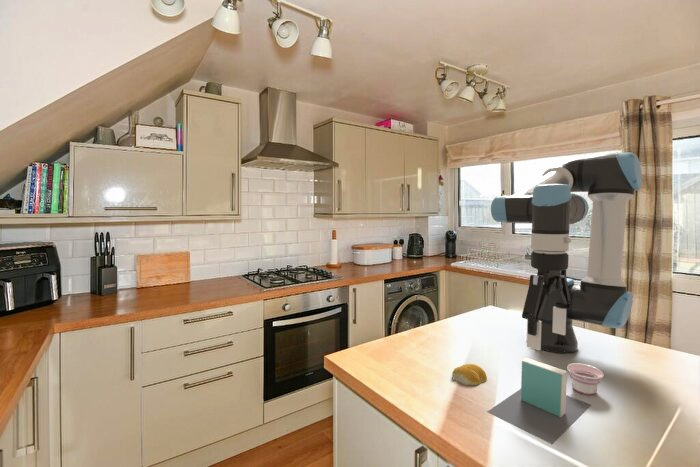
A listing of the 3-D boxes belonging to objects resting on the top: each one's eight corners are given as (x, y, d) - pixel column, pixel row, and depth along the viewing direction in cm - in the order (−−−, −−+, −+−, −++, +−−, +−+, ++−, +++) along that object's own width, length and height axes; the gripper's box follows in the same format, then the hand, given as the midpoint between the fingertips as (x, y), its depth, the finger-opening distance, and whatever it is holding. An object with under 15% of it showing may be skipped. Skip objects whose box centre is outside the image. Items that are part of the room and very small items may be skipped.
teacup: (616, 411, 80) (617, 386, 80) (556, 398, 86) (557, 374, 85) (608, 388, 90) (609, 365, 90) (555, 377, 96) (556, 356, 96)
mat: (487, 414, 79) (487, 411, 79) (531, 383, 93) (531, 381, 93) (552, 446, 68) (552, 444, 68) (591, 407, 82) (591, 404, 82)
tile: (520, 400, 84) (521, 360, 83) (525, 396, 85) (526, 357, 85) (560, 417, 77) (562, 374, 76) (565, 413, 78) (567, 371, 78)
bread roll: (491, 381, 95) (492, 367, 95) (471, 390, 90) (471, 376, 90) (466, 369, 102) (467, 356, 101) (446, 378, 97) (446, 364, 96)
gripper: (542, 259, 69) (539, 361, 70) (587, 248, 84) (584, 332, 85) (506, 255, 74) (504, 349, 76) (554, 245, 90) (552, 324, 91)
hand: (546, 340), depth 81 cm, fingers open, 13 cm apart
